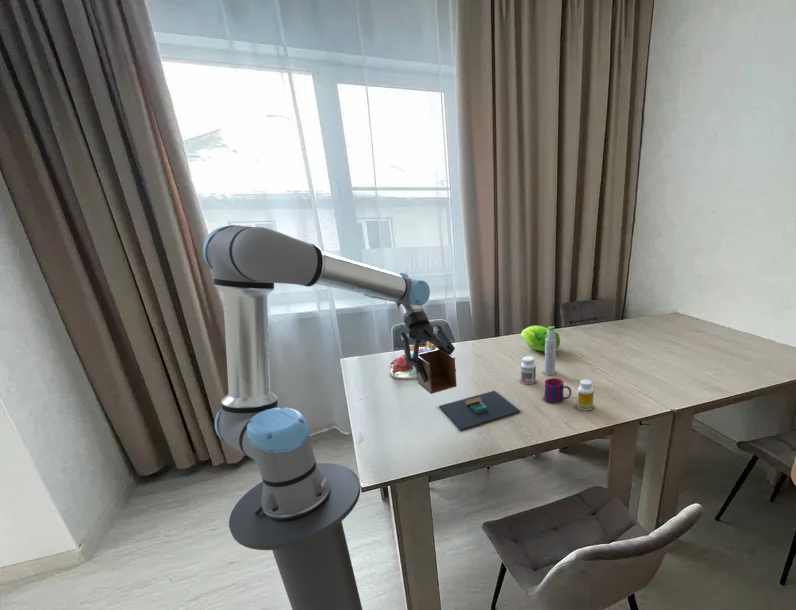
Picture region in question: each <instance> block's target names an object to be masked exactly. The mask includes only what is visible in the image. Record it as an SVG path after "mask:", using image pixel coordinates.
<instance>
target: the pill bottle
mask: <svg viewBox="0 0 796 610" xmlns="http://www.w3.org/2000/svg"><path fill="white" fill-rule="evenodd" d="M521 361H522V362H521V364H520V381H521V383H522V384H524V385H531V384H532V385H533V384H535V382H536V380H537V379H536V373H537V371H536V368H537V367H536V363H535V357H534V356H532V355H531V356H530V355H528V356H523V357H522V358H521Z"/></svg>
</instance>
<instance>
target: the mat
mask: <svg viewBox="0 0 796 610" xmlns="http://www.w3.org/2000/svg"><path fill="white" fill-rule="evenodd" d="M478 397H481V400H482V401H481V402H482V403H483V404H484V405H485V406H486V407H487V411H484V412H480V413H476V412H475V411H473V410H472V409H471V408H470V404H469V405H466V402H465V401H468V400H471V399H474V398H478ZM438 407H439V409H440V410H441V411H442V412H443V413H444V414H445V415H446V416H447V418H448V419H449V420H450V421H451V422H452V423H453V424H454V425H455V426H456V427H457V428H458V429H459V431H461V432H462V431H465V430H468V429H471V428H475V427H477V426H480V425H484V424H486V423H491V422H493V421H497V420H500V419H503V418H506V417H509V416H513V415H515V414H519V413H520V412H521V410H520V409H518V408H517V407H516V406H514V405H513V404H512V403H511V402H509V401H508V400H507V399H506V398H504V397H503V396H502V395H500V394H499V393H498V392H496V391H495V390H493V391H489V392H488V391H487V392H485V393H482V394H481V393H480V394H477V395H473V396H470V397H467V398H463V399H460V400H456V401H453V402H449V403H445V404H442V405H439V406H438Z"/></svg>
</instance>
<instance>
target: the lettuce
mask: <svg viewBox="0 0 796 610" xmlns="http://www.w3.org/2000/svg"><path fill="white" fill-rule="evenodd" d="M547 330H548V327H546V326H542V325H530V326H528V327H526V328H524V329H522V331H521V332H520V336H521V338H522V339H523V341H524V342H525V343H526V344H527V346H528V347H529V348H531V349H533V350H534V351H536V352H539V353H540V352H541V353H545V339H546V338H547ZM555 338H556V350H558V349H559V347H560V345H561V338H560V334H559V333H558V332H556V331H555Z"/></svg>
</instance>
